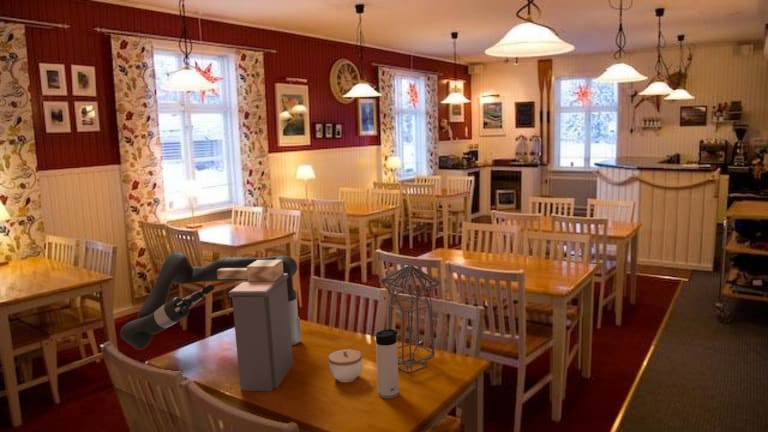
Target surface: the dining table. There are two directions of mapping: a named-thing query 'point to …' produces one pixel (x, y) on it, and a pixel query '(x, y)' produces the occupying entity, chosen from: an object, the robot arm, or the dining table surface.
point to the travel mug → (387, 363)
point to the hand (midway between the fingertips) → (207, 289)
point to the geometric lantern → (408, 271)
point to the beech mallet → (254, 271)
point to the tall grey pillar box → (262, 333)
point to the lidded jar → (345, 364)
